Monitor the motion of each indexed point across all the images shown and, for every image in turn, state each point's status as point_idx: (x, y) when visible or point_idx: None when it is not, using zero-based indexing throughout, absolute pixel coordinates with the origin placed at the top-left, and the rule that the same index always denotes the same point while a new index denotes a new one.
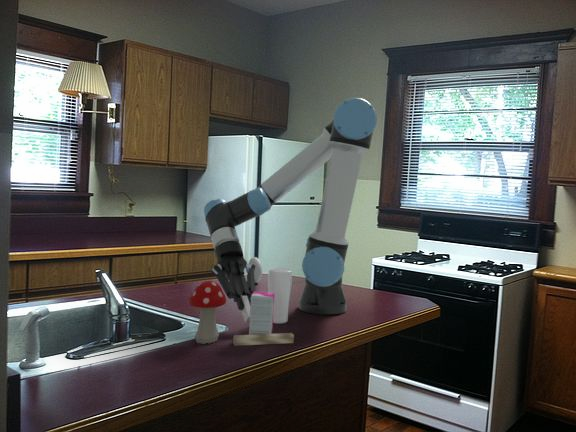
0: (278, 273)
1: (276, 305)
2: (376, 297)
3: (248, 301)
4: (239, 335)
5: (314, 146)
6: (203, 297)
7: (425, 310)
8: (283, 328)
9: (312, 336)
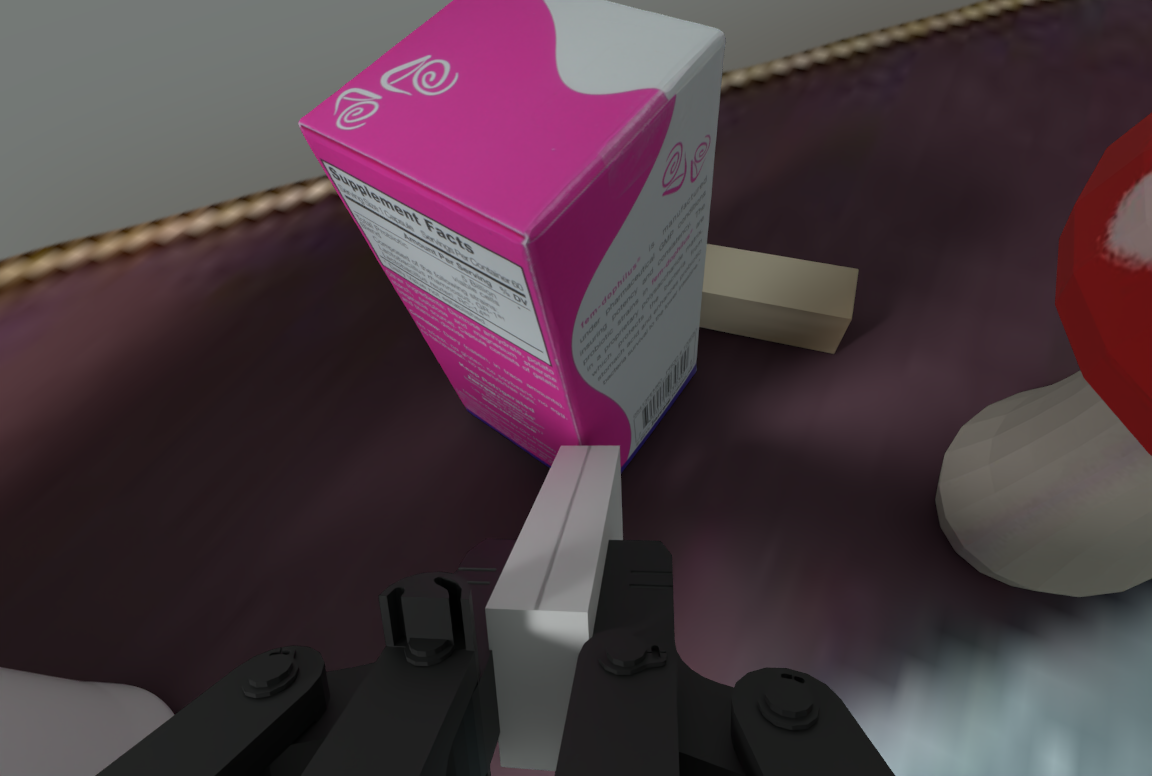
0: None
1: (23, 710)
2: None
3: (522, 542)
4: (804, 300)
5: None
6: None
7: None
8: (253, 550)
9: (255, 301)
